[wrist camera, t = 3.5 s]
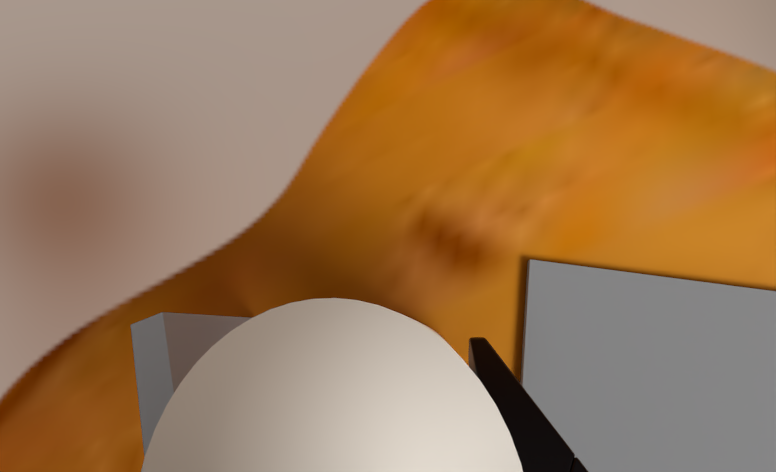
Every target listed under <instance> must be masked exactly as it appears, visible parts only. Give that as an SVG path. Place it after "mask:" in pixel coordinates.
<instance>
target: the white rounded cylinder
mask: <svg viewBox="0 0 776 472" xmlns="http://www.w3.org/2000/svg"><path fill="white" fill-rule="evenodd" d="M141 472H523V470H522V465H521V462H520V459H519V457H518V454H517V451H516V448H515V446H514V443H513V440H512V437H511V434H510V432H509V430H508V428H507V426H506V424H505V422H504V420H503V418H502V416H501V414H500V412H499V410H498V408H497V406H496V404H495V403H494V401H493V399H492V398H491V396H490V395H489V393H488V392H487V390H486V389H485V387H484V386H483V384H482V382H481V381H480V380H479V378H478V377H477V376H476V375H475V374H474V372H473V371H472V370H471V369H470V368H469V366H468V365H467V364H466V363H465V362H464V360H463V359H462V358H461V357H460V356H459V355H458V354H457V353H456V352H455V350H454V349H453V348H452V347H451V346H450V345H449V344H448V343H447V342H446V341H445V340H444V339H443V338H442V337H441V336H440V335H439V334H438V333H437V332H436V331H435V330H433V329H432V328H430V327H428V326H426V325H424V324H422V323H420V322H418V321H416V320H413V319H411V318H409V317H407V316H405V315H403V314H400V313H398V312H395V311H393V310H390V309H387V308H385V307H382V306H380V305H376V304H372V303H367V302H363V301H359V300H352V299H341V298H320V299H309V300H303V301H298V302H292V303H289V304H286V305H282V306H279V307H276V308H273V309H270V310H268V311H266V312H264V313H262V314H259V315H257V316H255V317H253V318H251V319H249V320H248V321H246V322H244V323H243V324H241V325H240V326H238V327H236V328H235V329H233V330H232V331H230V332H229V333H228V334H227V335H225V336H224V337H223V338H222V339H220V340H219V341H218V342H217V343H216V344H214V345H213V346H212V347H211V348H210V349H209V350H208V351H207V352H206V353H205V354H204V355H203V356H202V357H201V358H200V359H199V360H198V361H197V362H196V364H195V365H194V366H193V367H192V369H191V370H190V371H189V373H188V374H187V375H186V376H185V378H184V379H183V380H182V382H181V383H180V384H179V386H178V388H177V389H176V391H175V392H174V394H173V396H172V397H171V399H170V401H169V402H168V404H167V405H166V407H165V410H164V412H163V414H162V416H161V418H160V420H159V422H158V424H157V426H156V428H155V430H154V433H153V436H152V438H151V441H150V444H149V447H148V449H147V452H146V455H145V458H144V462H143V466H142V470H141Z"/></svg>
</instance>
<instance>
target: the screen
mask: <svg viewBox="0 0 776 472" xmlns="http://www.w3.org/2000/svg"><path fill="white" fill-rule="evenodd" d="M249 319H251V318H248V317H232V316H217V315H201V314H185V313H170V312H162V313H159V314H156V315H154V316H151V317H149V318H146V319H144V320H141V321H139V322H136V323H134V324H131V333H132V343H133V352H134V362H135V371H136V380H137V390H138V399H139V409H140V418H141V428H142V437H143V446H144V456H145V455H146V452H147V449H148V447H149V444H150V441H151V438H152V436H153V433H154V430H155V428H156V426H157V424H158V422H159V420H160V418H161V416H162V414H163V412H164V410H165V407H166V405H167V404H168V402H169V401H170V399H171V397H172V396H173V394H174V392H175V391H176V389H177V388H178V386H179V384H180V383H181V382H182V380H183V379H184V378H185V376H186V375H187V374H188V373H189V371H190V370H191V369H192V367H193V366H194V365H195V364H196V362H197V361H198V360H199V359H200V358H201V357H202V356H203V355H204V354H205V353H206V352H207V351H208V350H209V349H210V348H211V347H212V346H213V345H214V344H216V343H217V342H218V341H219V340H220V339H222V338H223V337H224V336H225V335H227V334H228V333H229V332H230V331H232V330H233V329H235V328H236V327H238V326H240V325H241V324H243V323H244V322H246V321H248V320H249Z"/></svg>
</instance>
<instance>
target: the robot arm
mask: <svg viewBox="0 0 776 472" xmlns="http://www.w3.org/2000/svg"><path fill="white" fill-rule="evenodd" d="M469 368H470V369H471V370H472V371H473V372H474V374H475V375H476V376H477V377H478V378H479V380H480V381H481V382H482V384H483V386H484V387H485V389H486V390H487V392H488V393H489V395H490V396H491V398H492V399H493V401H494V403H495V404H496V406H497V408H498V410H499V412H500V414H501V416H502V418H503V420H504V422H505V424H506V426H507V428H508V430H509V432H510V434H511V437H512V440H513V443H514V446H515V448H516V451H517V454H518V457H519V459H520V462H521V465H522V470H523V472H588V470H587V469H586V468H585V466H584V465H583V464H582V463H581V461H580V460H579V459H578V458H577V457H575V454H574V452H573V451H572V450H571V449H570V447H569V446H568V445H567V443H566V442H565V441H564V439H563V438H562V437H561V436H560V434H559V433H558V432H557V430H556V429H555V428H554V427H553V425H552V424H551V423H550V421H549V420H548V419H547V417H546V416H545V415H544V414H543V412H542V411H541V410H540V408H539V407H538V406H537V404H536V403H535V402H534V401H533V399H532V398H531V397H530V395H529V394H528V393H527V392H526V390H525V389H524V388H523V386H522V385H521V384H520V382H519V381H518V380H517V379H516V377H515V376H514V375H513V373H512V372H511V371H510V369H509V368H508V367H507V366H506V364H505V363H504V362H503V360H502V359H501V358H500V357H499V355H498V354H497V353H496V351H495V350H494V349H493V347H492V346H491V345H490V344H489V342H488V341H487V340H486V339H485V338H482V337H475V338H470V339H469ZM574 457H575V458H574Z"/></svg>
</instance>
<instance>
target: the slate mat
mask: <svg viewBox="0 0 776 472" xmlns="http://www.w3.org/2000/svg"><path fill="white" fill-rule="evenodd" d="M520 384H521V385H522V386H523V388H524V389H525V390H526V392H527V393H528V394H529V395H530V397H531V398H532V399H533V401H534V402H535V403H536V404H537V406H538V407H539V408H540V410H541V411H542V412H543V414H544V415H545V416H546V417H547V419H548V420H549V421H550V423H551V424H552V425H553V427H554V428H555V429H556V430H557V432H558V433H559V434H560V436H561V437H562V438H563V439H564V441H565V442H566V443H567V445H568V446H569V447H570V449H571V450H572V451H573V452H574V454H575V457H577V458H578V459H579V460H580V461H581V463H582V464H583V465H584V466H585V468H586V469H587V470H588V472H776V291H769V290H761V289H754V288H746V287H738V286H731V285H723V284H715V283H708V282H700V281H692V280H685V279H677V278H669V277H662V276H654V275H646V274H638V273H631V272H623V271H615V270H608V269H600V268H592V267H585V266H577V265H569V264H562V263H554V262H546V261H539V260H531V259H530V260H528V264H527V281H526V297H525V314H524V330H523V346H522V363H521V379H520ZM575 457H574V458H575Z"/></svg>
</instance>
